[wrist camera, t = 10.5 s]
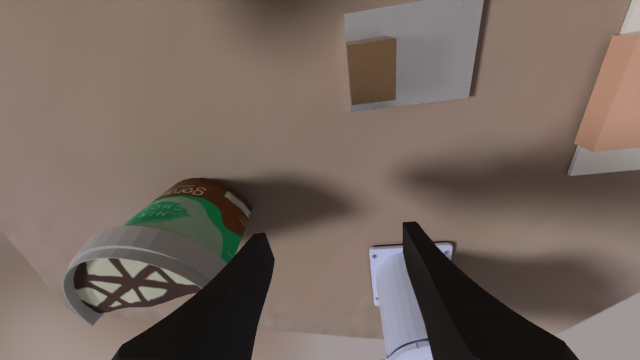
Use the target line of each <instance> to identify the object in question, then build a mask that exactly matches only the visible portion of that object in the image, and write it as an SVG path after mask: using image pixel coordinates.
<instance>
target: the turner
mask: <svg viewBox="0 0 640 360" xmlns="http://www.w3.org/2000/svg"><path fill="white" fill-rule="evenodd" d="M483 3H484V0H423V1H417V2H411V3H406V4H400V5H394V6H388V7H382V8H376V9H370V10H365V11H359V12H353V13H347V14H344V22H345V34H346V47H347V60H348V73H349V86H350V99H351V111H361V110H369V109H378V108H386V107H395V106H403V105H412V104H420V103H428V102H437V101H445V100H454V99H462V98H469V93H470V87H471V80H472V74H473V67H474V61H475V54H476V48H477V41H478V35H479V29H480V22H481V16H482V9H483Z"/></svg>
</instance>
